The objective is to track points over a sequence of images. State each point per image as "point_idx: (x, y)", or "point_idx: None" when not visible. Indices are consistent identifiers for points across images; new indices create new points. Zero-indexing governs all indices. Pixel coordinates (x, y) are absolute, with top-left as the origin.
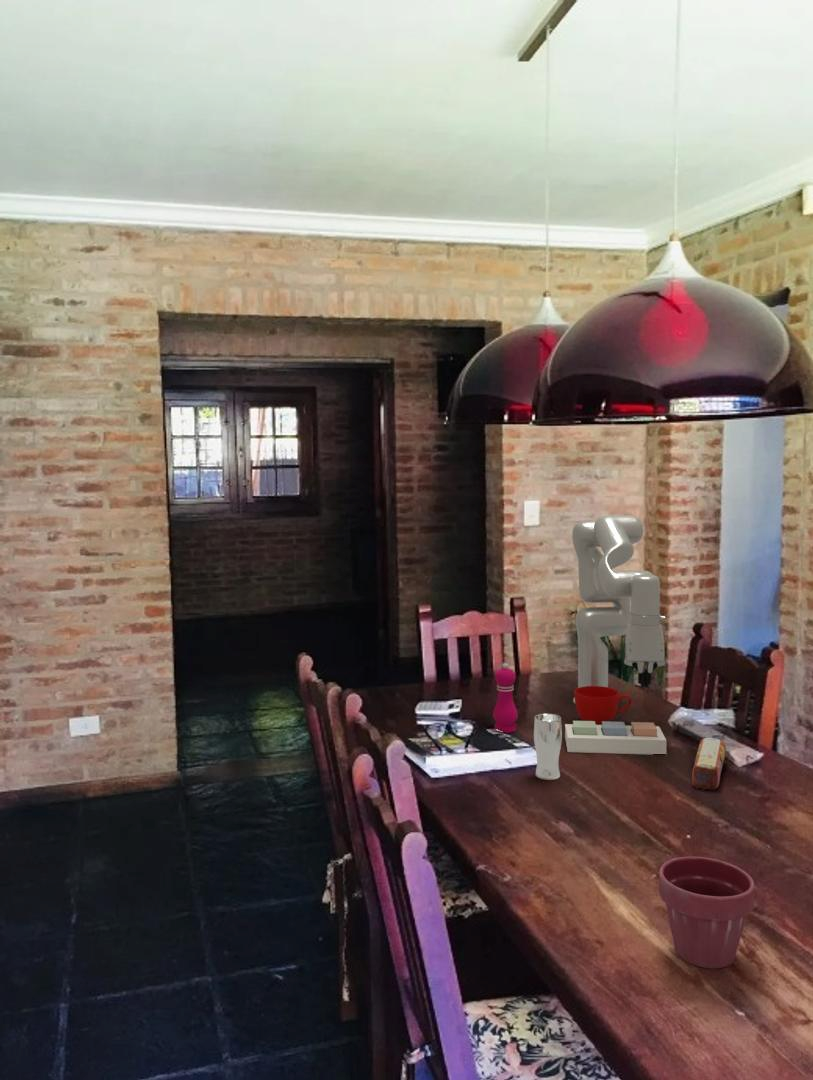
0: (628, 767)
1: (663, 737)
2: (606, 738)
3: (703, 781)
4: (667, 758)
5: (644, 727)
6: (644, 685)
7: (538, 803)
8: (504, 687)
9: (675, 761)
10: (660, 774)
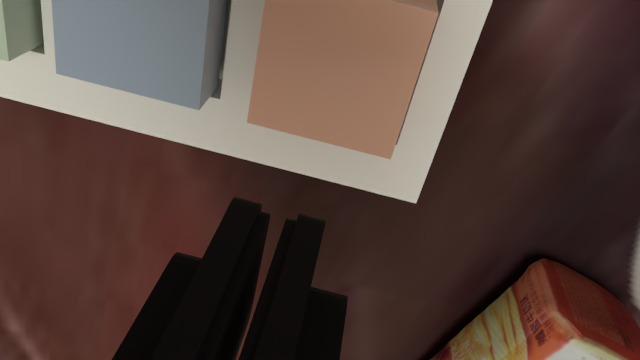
0: (194, 253)
1: (423, 159)
2: (90, 115)
3: None
4: (398, 200)
5: (322, 111)
6: (243, 333)
7: None
8: None
9: (415, 237)
10: None
